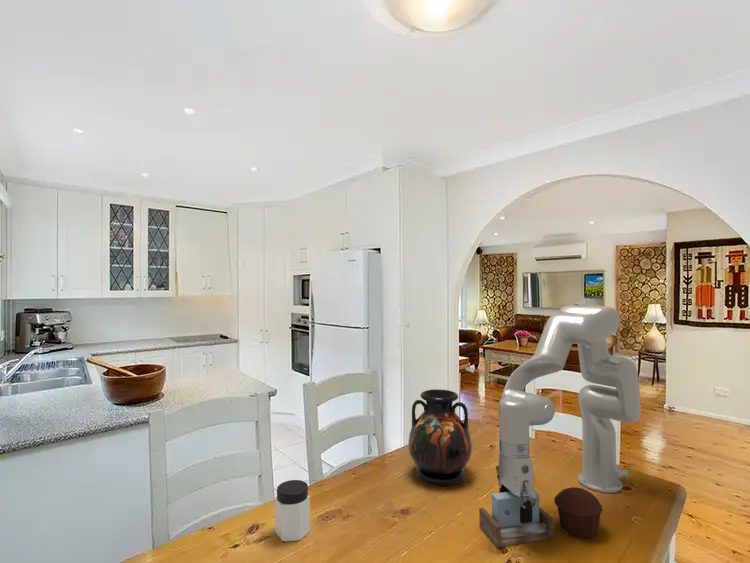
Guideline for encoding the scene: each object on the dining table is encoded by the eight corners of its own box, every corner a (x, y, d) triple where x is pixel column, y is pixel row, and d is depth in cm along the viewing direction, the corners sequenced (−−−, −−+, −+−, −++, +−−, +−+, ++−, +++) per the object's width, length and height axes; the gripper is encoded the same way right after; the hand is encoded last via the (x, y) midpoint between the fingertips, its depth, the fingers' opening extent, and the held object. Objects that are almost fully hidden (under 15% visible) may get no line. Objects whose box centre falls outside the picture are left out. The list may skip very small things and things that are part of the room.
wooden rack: (532, 518, 113) (532, 500, 113) (553, 538, 104) (553, 518, 104) (479, 526, 110) (479, 508, 110) (496, 547, 101) (496, 527, 101)
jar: (310, 522, 113) (310, 478, 113) (308, 540, 104) (308, 493, 105) (277, 524, 112) (277, 480, 112) (273, 543, 104) (272, 495, 104)
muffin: (575, 545, 101) (574, 505, 101) (545, 521, 112) (544, 484, 112) (613, 537, 105) (612, 497, 105) (580, 514, 115) (580, 478, 115)
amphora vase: (403, 487, 132) (402, 400, 132) (413, 459, 153) (412, 384, 153) (472, 494, 127) (471, 404, 127) (472, 465, 147) (471, 387, 148)
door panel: (532, 522, 110) (532, 488, 110) (540, 529, 106) (540, 494, 107) (492, 528, 107) (491, 493, 107) (498, 536, 104) (498, 500, 104)
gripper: (547, 458, 100) (548, 529, 99) (509, 433, 117) (510, 494, 116) (520, 461, 98) (521, 533, 98) (485, 436, 115) (486, 497, 115)
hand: (515, 511), depth 107 cm, fingers open, 9 cm apart
